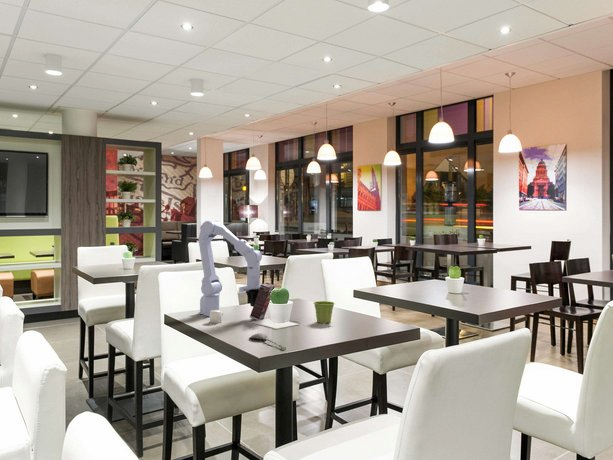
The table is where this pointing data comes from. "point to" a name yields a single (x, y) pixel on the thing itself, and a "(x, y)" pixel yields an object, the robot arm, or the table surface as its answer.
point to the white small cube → (215, 316)
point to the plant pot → (324, 311)
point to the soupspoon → (263, 336)
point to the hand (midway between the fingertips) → (253, 306)
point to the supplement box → (262, 301)
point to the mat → (274, 324)
